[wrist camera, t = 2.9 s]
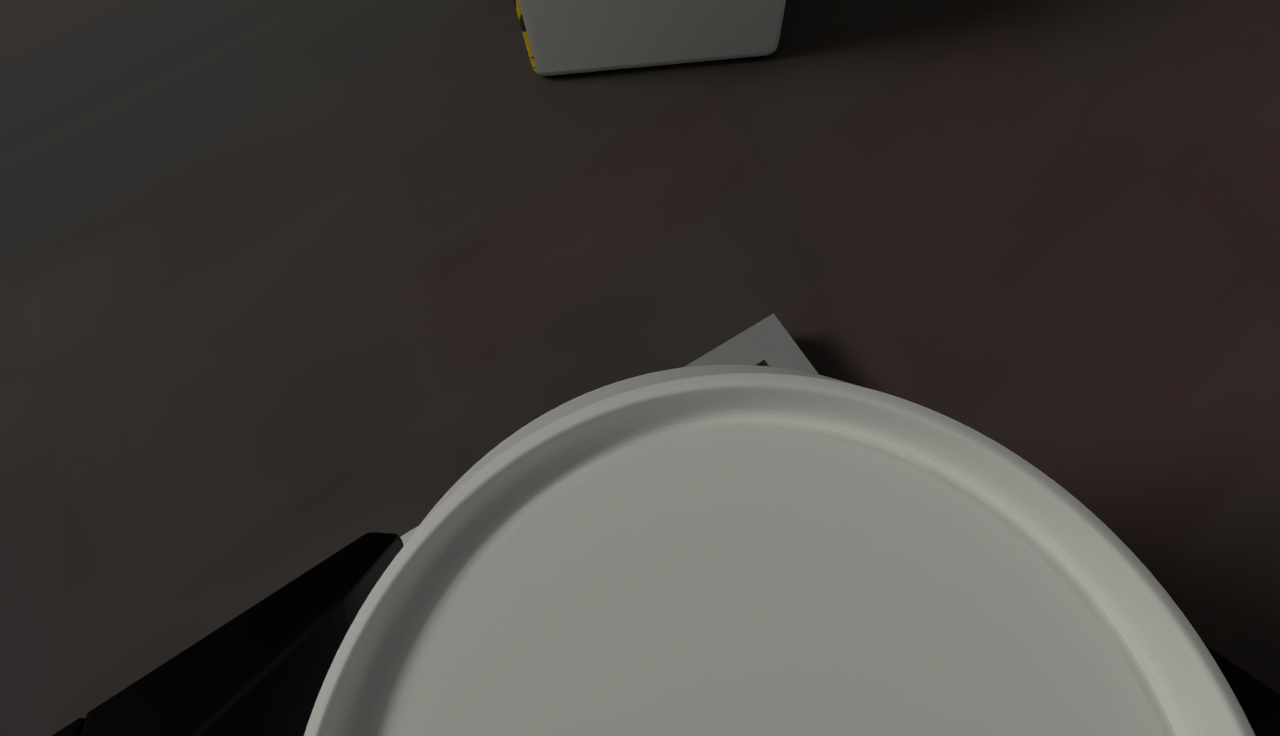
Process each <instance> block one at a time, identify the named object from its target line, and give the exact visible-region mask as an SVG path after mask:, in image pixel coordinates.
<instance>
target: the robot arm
mask: <svg viewBox="0 0 1280 736" xmlns="http://www.w3.org/2000/svg"><path fill="white" fill-rule="evenodd" d="M403 547H404V545H403V542H402V539H401V538H400V536H399V535H397V534H393V533H377V532H371V533H367V534H365V535H363V536H361V537H360V538H358V539H357V540H355V541H354V542H352V543H350V544H349V545H347V546H346V547H344V548H343V549H341V550H340V551H338V552H337V553H335V554H333V555H332V556H330V557H329V558H327V559H326V560H324V561H323V562H321V563H319V564H318V565H316V566H315V567H313V568H312V569H310V570H309V571H307V572H305V573H304V574H302V575H301V576H299V577H298V578H296V579H295V580H293V581H292V582H290V583H288V584H287V585H285V586H284V587H282V588H281V589H279V590H278V591H276V592H274V593H273V594H271V595H270V596H268V597H267V598H265V599H264V600H262V601H260V602H259V603H257V604H256V605H254V606H253V607H251V608H250V609H248V610H246V611H245V612H243V613H242V614H240V615H239V616H237V617H236V618H234V619H233V620H231V621H229V622H228V623H226V624H225V625H223V626H222V627H220V628H219V629H217V630H215V631H214V632H212V633H211V634H209V635H208V636H206V637H205V638H203V639H201V640H200V641H198V642H197V643H195V644H194V645H192V646H191V647H189V648H188V649H186V650H184V651H183V652H181V653H180V654H178V655H177V656H175V657H174V658H172V659H170V660H169V661H167V662H166V663H164V664H163V665H161V666H160V667H158V668H156V669H155V670H153V671H152V672H150V673H149V674H147V675H146V676H144V677H143V678H141V679H139V680H138V681H136V682H135V683H133V684H132V685H130V686H129V687H127V688H125V689H124V690H122V691H121V692H119V693H118V694H116V695H115V696H113V697H111V698H110V699H108V700H107V701H105V702H104V703H102V704H101V705H99V706H97V707H96V708H94V709H93V710H91V711H90V712H89V713H88V714H87V716H86V718H79V719H77V720H75V721H74V722H72V723H71V724H69V725H68V726H66V727H65V728H63V729H61V730H60V731H58V732H57V733H55V734H54V735H52V736H304V734H305V731H306V727H307V724H308V722H309V719H310V716H311V713H312V710H313V708H314V705H315V702H316V699H317V697H318V695H319V692H320V690H321V687H322V685H323V682H324V680H325V677H326V675H327V673H328V671H329V668H330V666H331V664H332V662H333V660H334V657H335V655H336V653H337V651H338V649H339V647H340V645H341V643H342V641H343V639H344V637H345V635H346V633H347V632H348V630H349V628H350V626H351V624H352V623H353V621H354V619H355V617H356V615H357V614H358V612H359V610H360V609H361V607H362V605H363V604H364V602H365V601H366V599H367V597H368V596H369V594H370V592H371V591H372V589H373V588H374V586H375V585H376V583H377V582H378V580H379V579H380V578H381V576H382V575H383V573H384V572H385V570H386V569H387V568H388V566H389V565H390V564H391V562H392V561H393V559H394V558H395V557H396V555H397V554H398V553H399V552H400V550H401V549H402V548H403ZM1205 646H1206V648H1207V649H1208V651H1209V652H1210V654H1211V655H1212V657H1213V658H1214V660H1215V662H1216V663H1217V665H1218V667H1219V668H1220V670H1221V672H1222V673H1223V675H1224V677H1225V678H1226V680H1227V682H1228V684H1229V685H1230V687H1231V689H1232V691H1233V693H1234V695H1235V696H1236V698H1237V700H1238V702H1239V704H1240V706H1241V707H1242V709H1243V711H1244V713H1245V715H1246V718H1247V720H1248V722H1249V724H1250V726H1251V728H1252V730H1253V732H1254V734H1255V736H1280V694H1278V693H1277V692H1275V691H1274V690H1272V689H1271V688H1269V687H1268V686H1266V685H1265V684H1263V683H1262V682H1260V681H1259V680H1257V679H1256V678H1254V677H1253V676H1251V675H1250V674H1248V673H1247V672H1245V671H1244V670H1242V669H1241V668H1239V667H1238V666H1236V665H1235V664H1233V663H1232V662H1230V661H1229V660H1228V659H1226V658H1225V657H1223V656H1222V655H1220V654H1219V653H1217V652H1216V651H1214V650H1213V649H1211V648H1210V647H1208V646H1207V645H1205Z"/></svg>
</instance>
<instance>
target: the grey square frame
mask: <svg viewBox="0 0 1280 736" xmlns="http://www.w3.org/2000/svg"><path fill="white" fill-rule="evenodd" d="M705 365H756V366H769V367H777V368H785V369H792V370H798V371H803V372H808V373H813V374H818V373H817V371H816V370H815V369H814V367H813V366H812V365H811V363H810V362H809V361H808V359H807V358H806V357H805V355H804V354H803V353H802V351H801V350H800V348H799V347H798V346H797V344H796V343H795V342H794V340H793V339H792V338H791V336H790V335H789V334H788V332H787V331H786V330H785V328H784V327H783V326H782V324H781V323H780V322H779V320H778V319H777V318H776V316H775V315H774V314H772V315H770V316H769V317H767V318H765V319H764V320H762V321H760V322H759V323H757V324H755V325H754V326H752V327H750V328H749V329H747V330H745V331H744V332H742V333H740V334H739V335H737V336H735V337H734V338H732V339H730V340H729V341H727V342H725V343H724V344H722V345H720V346H719V347H717V348H715V349H714V350H712V351H710V352H709V353H707V354H705V355H704V356H702V357H700V358H698V359H697V360H695V361H693V362H692V363H690V364H688V365H687V366H685V367H693V366H705ZM683 368H684V367H683ZM818 375H819V374H818ZM418 527H419V526H418ZM418 527H416V528H414V529H413V530H411V531H409V532H408V533H406V534H404V535H403V536H401V537H400V538H401V539H402V542H403V545H405V544H406V543H407V542H408V540H409V539H410V538H411V536H412V535H413V533H414V532H415V531H416V529H417V528H418Z"/></svg>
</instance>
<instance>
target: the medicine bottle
mask: <svg viewBox="0 0 1280 736" xmlns="http://www.w3.org/2000/svg"><path fill="white" fill-rule="evenodd" d="M513 1H514V4H515V8H516V11H517V15H518V18H519V22H520V25H521V29H522V33H523V36H524V40H525V43H526V47H527V50H528V54H529V57H530V61H531V64H532V67H533V69H534V71H535V72H536V73H537V74H539V75H541V76H551V75H562V74H573V73H583V72H594V71H605V70H616V69H626V68H637V67H648V66H659V65H669V64H680V63H691V62H702V61H712V60H723V59H734V58H745V57H755V56H766V55H770V54H772V53H773V52H774V51H775V50H776V48H777V47H778V43H779V38H780V32H781V26H782V20H783V14H784V9H785V3H786V0H513Z"/></svg>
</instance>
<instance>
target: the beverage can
mask: <svg viewBox="0 0 1280 736" xmlns="http://www.w3.org/2000/svg"><path fill="white" fill-rule="evenodd" d="M304 736H1255V734H1254V732H1253V730H1252V728H1251V726H1250V724H1249V722H1248V720H1247V718H1246V715H1245V713H1244V711H1243V709H1242V707H1241V706H1240V704H1239V702H1238V700H1237V698H1236V696H1235V695H1234V693H1233V691H1232V689H1231V687H1230V685H1229V684H1228V682H1227V680H1226V678H1225V677H1224V675H1223V673H1222V672H1221V670H1220V668H1219V667H1218V665H1217V663H1216V662H1215V660H1214V658H1213V657H1212V655H1211V654H1210V652H1209V651H1208V649H1207V648H1206V646H1205V644H1204V643H1203V641H1202V640H1201V638H1200V637H1199V635H1198V634H1197V632H1196V631H1195V630H1194V628H1193V627H1192V625H1191V624H1190V622H1189V621H1188V620H1187V618H1186V617H1185V615H1184V614H1183V613H1182V611H1181V610H1180V609H1179V607H1178V606H1177V605H1176V603H1175V602H1174V601H1173V600H1172V598H1171V597H1170V596H1169V594H1168V593H1167V592H1166V590H1165V589H1164V588H1163V587H1162V586H1161V584H1160V583H1159V582H1158V581H1157V580H1156V578H1155V577H1154V576H1153V575H1152V574H1151V572H1150V571H1149V570H1148V569H1147V568H1146V567H1145V566H1144V564H1143V563H1142V562H1141V561H1140V560H1139V559H1138V558H1137V557H1136V556H1135V554H1134V553H1133V552H1132V551H1131V550H1130V549H1129V548H1128V547H1127V546H1126V545H1125V544H1124V543H1123V542H1122V541H1121V540H1120V539H1119V538H1118V537H1117V536H1116V535H1115V534H1114V533H1113V532H1112V531H1111V530H1110V529H1109V528H1108V527H1107V526H1106V525H1105V524H1104V523H1103V522H1102V521H1101V520H1100V519H1099V518H1098V517H1097V516H1096V515H1094V514H1093V513H1092V512H1091V511H1090V510H1089V509H1088V508H1086V507H1085V506H1084V505H1083V504H1082V503H1081V502H1080V501H1078V500H1077V499H1076V498H1075V497H1074V496H1072V495H1071V494H1070V493H1069V492H1067V491H1066V490H1065V489H1064V488H1062V487H1061V486H1060V485H1059V484H1058V483H1056V482H1055V481H1054V480H1052V479H1051V478H1049V477H1048V476H1047V475H1045V474H1044V473H1043V472H1041V471H1040V470H1039V469H1037V468H1036V467H1034V466H1033V465H1031V464H1030V463H1028V462H1027V461H1025V460H1024V459H1023V458H1021V457H1020V456H1018V455H1017V454H1015V453H1013V452H1012V451H1010V450H1008V449H1007V448H1005V447H1004V446H1002V445H1000V444H999V443H997V442H995V441H994V440H992V439H990V438H988V437H986V436H985V435H983V434H981V433H979V432H977V431H975V430H974V429H972V428H970V427H968V426H966V425H964V424H962V423H960V422H958V421H956V420H953V419H951V418H949V417H947V416H945V415H942V414H940V413H938V412H936V411H933V410H931V409H928V408H926V407H923V406H921V405H918V404H916V403H913V402H910V401H907V400H904V399H902V398H899V397H896V396H893V395H889V394H886V393H883V392H880V391H876V390H872V389H869V388H865V387H861V386H857V385H854V384H850V383H847V382H844V381H841V380H837V379H833V378H830V377H826V376H822V375H818V374H813V373H808V372H803V371H798V370H792V369H785V368H777V367H769V366H756V365H705V366H693V367H684V368H677V369H670V370H664V371H659V372H654V373H649V374H645V375H641V376H637V377H633V378H629V379H626V380H623V381H619V382H616V383H613V384H610V385H607V386H604V387H602V388H599V389H596V390H594V391H591V392H589V393H586V394H584V395H582V396H579V397H577V398H575V399H573V400H571V401H568V402H566V403H564V404H562V405H560V406H558V407H557V408H555V409H553V410H551V411H549V412H547V413H545V414H544V415H542V416H540V417H539V418H537V419H535V420H533V421H532V422H530V423H529V424H527V425H526V426H524V427H523V428H521V429H520V430H518V431H517V432H515V433H514V434H512V435H511V436H510V437H508V438H507V439H505V440H504V441H503V442H501V443H500V444H499V445H498V446H496V447H495V448H494V449H492V450H491V451H490V452H489V453H488V454H486V455H485V456H484V457H483V458H482V459H481V460H479V461H478V462H477V463H476V464H475V465H474V466H473V467H472V468H471V469H469V470H468V471H467V472H466V473H465V474H464V475H463V476H462V477H461V478H460V479H459V480H458V481H457V482H456V483H455V484H454V485H453V486H452V487H451V488H450V489H449V490H448V492H447V493H446V494H445V495H444V496H443V497H442V498H441V499H440V501H439V502H438V503H437V504H436V505H435V506H434V508H433V509H432V510H431V511H430V513H429V514H428V515H427V516H426V517H425V519H424V520H423V521H422V523H421V524H420V525H419V527H418V528H417V529H416V531H415V532H414V533H413V535H412V536H411V538H410V539H409V540H408V542H407V543H406V544H405V545H404V547H403V548H402V549H401V550H400V552H399V553H398V554H397V555H396V557H395V558H394V559H393V561H392V562H391V564H390V565H389V566H388V568H387V569H386V570H385V572H384V573H383V575H382V576H381V578H380V579H379V580H378V582H377V583H376V585H375V586H374V588H373V589H372V591H371V592H370V594H369V596H368V597H367V599H366V601H365V602H364V604H363V605H362V607H361V609H360V610H359V612H358V614H357V615H356V617H355V619H354V621H353V623H352V624H351V626H350V628H349V630H348V632H347V633H346V635H345V637H344V639H343V641H342V643H341V645H340V647H339V649H338V651H337V653H336V655H335V657H334V660H333V662H332V664H331V666H330V668H329V671H328V673H327V675H326V677H325V680H324V682H323V685H322V687H321V690H320V692H319V695H318V697H317V699H316V702H315V705H314V708H313V710H312V713H311V716H310V719H309V722H308V724H307V727H306V731H305V734H304Z"/></svg>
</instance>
